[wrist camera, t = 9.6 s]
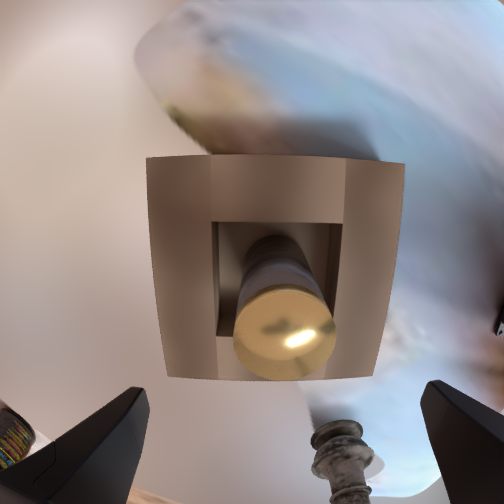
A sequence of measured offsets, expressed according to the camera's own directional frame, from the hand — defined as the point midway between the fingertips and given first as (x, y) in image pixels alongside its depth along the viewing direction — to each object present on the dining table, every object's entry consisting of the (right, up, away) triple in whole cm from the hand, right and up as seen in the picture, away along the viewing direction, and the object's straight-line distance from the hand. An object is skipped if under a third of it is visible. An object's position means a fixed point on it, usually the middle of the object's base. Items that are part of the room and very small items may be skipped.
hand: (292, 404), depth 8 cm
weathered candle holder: (+7, -13, +18) cm, 23 cm away
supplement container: (-33, -19, +20) cm, 43 cm away
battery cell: (0, +4, +12) cm, 12 cm away
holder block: (0, +4, +12) cm, 13 cm away
